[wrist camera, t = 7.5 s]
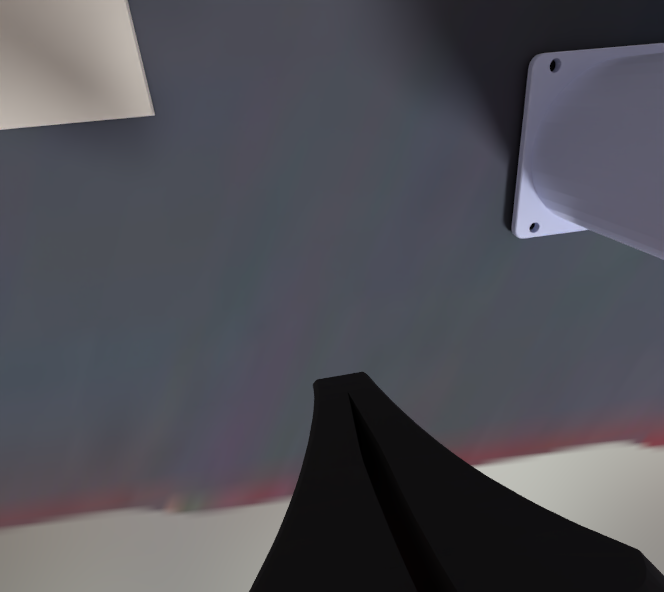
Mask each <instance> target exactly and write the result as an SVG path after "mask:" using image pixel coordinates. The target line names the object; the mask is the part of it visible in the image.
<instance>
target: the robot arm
mask: <svg viewBox="0 0 664 592" xmlns="http://www.w3.org/2000/svg"><path fill="white" fill-rule="evenodd" d="M552 60H554V61H555V65H556V66H555V69H554V70H553V71H552V72H551V70H550V63H551V62H552ZM532 223H535V226H534V228H533V229H532V230H530V229H529V228H530V225H531V224H532ZM511 229H512V233H513V235H515V236H517V237H518V238H530V237H538V236H545V235H553V234H560V233H568V232H575V231H583V230H591V231H594V232H596V233H599V234H601V235H604V236H606V237H609V238H611V239H614V240H616V241H619V242H621V243H623V244H626V245H628V246H631V247H633V248H636V249H638V250H641V251H643V252H646V253H648V254H651V255H653V256H656V257H658V258H661V259H663V260H664V43H656V44H644V45H632V46H620V47H609V48H597V49H585V50H573V51H561V52H550V53H541V54H538V55H536V56H535V57H533V58H532V60H531V62H530V64H529V68H528V76H527V86H526V95H525V105H524V114H523V124H522V133H521V143H520V152H519V162H518V171H517V180H516V190H515V199H514V209H513V218H512V228H511ZM313 388H314V411H313V419H312V425H311V431H310V437H309V441H308V446H307V449H306V453H305V457H304V461H303V465H302V469H301V472H300V475H299V478H298V482H297V485H296V488H295V490H294V493H293V496H292V499H291V502H290V504H289V507H288V509H287V512H286V515H285V517H284V519H283V522H282V524H281V527H280V529H279V532H278V534H277V536H276V538H275V541H274V543H273V545H272V547H271V549H270V552H269V553H268V555H267V557H266V559H265V561H264V563H263V565H262V567H261V570H260V571H259V573H258V575H257V577H256V579H255V581H254V583H253V585H252V587H251V589H250V591H249V592H664V575H663V574H662V573H661V572H660V571H659V570H658V569H657V568H656V567H655V566H654V565H653V564H652V563H651V562H650V561H649V560H648V559H647V558H646V557H645V556H644V555H643V554H642V553H641V552H640V551H639V550H638V549H635V548H633V547H631V546H628V545H626V544H624V543H621V542H619V541H617V540H614V539H612V538H609V537H607V536H604V535H602V534H600V533H598V532H595V531H593V530H590V529H588V528H585V527H583V526H581V525H578V524H576V523H574V522H572V521H569V520H568V519H565V518H564V517H562V516H560V515H558V514H556V513H554V512H551V511H549V510H547V509H545V508H543V507H541V506H539V505H537V504H535V503H533V502H532V501H530V500H528V499H526V498H524V497H522V496H521V495H519V494H517V493H515V492H514V491H512V490H510V489H508V488H506V487H505V486H503V485H501V484H500V483H498V482H496V481H494V480H493V479H491V478H489V477H488V476H486V475H484V474H483V473H481V472H480V471H478V470H477V469H475V468H474V467H472V466H471V465H469V464H468V463H466V462H465V461H463V460H462V459H461V458H459V457H458V456H456V455H455V454H454V453H452V452H451V451H450V450H448V449H447V448H446V447H444V446H443V445H442V444H440V443H439V442H438V441H437V440H435V439H434V438H433V437H432V436H430V435H429V434H428V433H427V432H426V431H424V430H423V429H422V428H421V427H420V426H419V425H417V424H416V423H415V422H414V421H413V420H412V419H411V418H410V417H409V416H407V415H406V414H405V413H404V412H403V411H402V410H401V409H400V408H399V407H398V406H397V405H396V404H395V403H394V402H393V401H392V400H391V399H390V398H389V397H388V396H387V395H386V394H385V393H384V392H383V391H382V390H381V389H380V388H379V387H378V386H377V385H376V384H375V383H374V382H373V381H372V379H371V378H370V377H369V376H368V375H367V374H366V373H364V372H359V373H353V374H347V375H341V376H335V377H330V378H324V379H318V380H316V381H315V382H314V384H313Z"/></svg>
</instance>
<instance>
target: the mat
mask: <svg viewBox="0 0 664 592" xmlns="http://www.w3.org/2000/svg"><path fill="white" fill-rule="evenodd" d="M153 115H155V113H154V109H153V105H152V100H151V96H150V92H149V88H148V84H147V80H146V75H145V71H144V67H143V63H142V59H141V55H140V51H139V46H138V42H137V38H136V34H135V30H134V26H133V21H132V17H131V13H130V9H129V5H128V1H127V0H0V130H1V129H12V128H23V127H34V126H45V125H56V124H67V123H78V122H89V121H100V120H110V119H121V118H132V117H143V116H153Z"/></svg>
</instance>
